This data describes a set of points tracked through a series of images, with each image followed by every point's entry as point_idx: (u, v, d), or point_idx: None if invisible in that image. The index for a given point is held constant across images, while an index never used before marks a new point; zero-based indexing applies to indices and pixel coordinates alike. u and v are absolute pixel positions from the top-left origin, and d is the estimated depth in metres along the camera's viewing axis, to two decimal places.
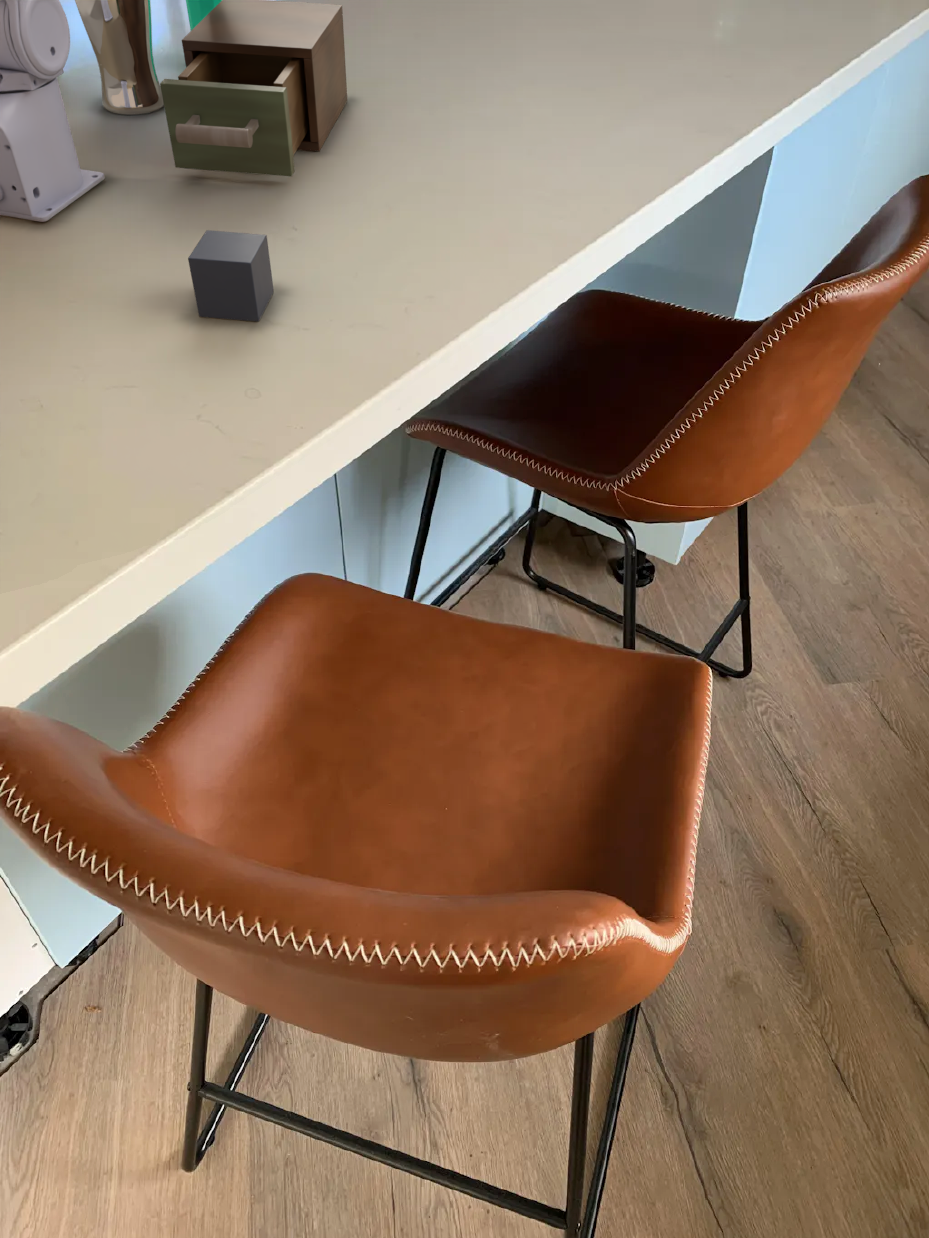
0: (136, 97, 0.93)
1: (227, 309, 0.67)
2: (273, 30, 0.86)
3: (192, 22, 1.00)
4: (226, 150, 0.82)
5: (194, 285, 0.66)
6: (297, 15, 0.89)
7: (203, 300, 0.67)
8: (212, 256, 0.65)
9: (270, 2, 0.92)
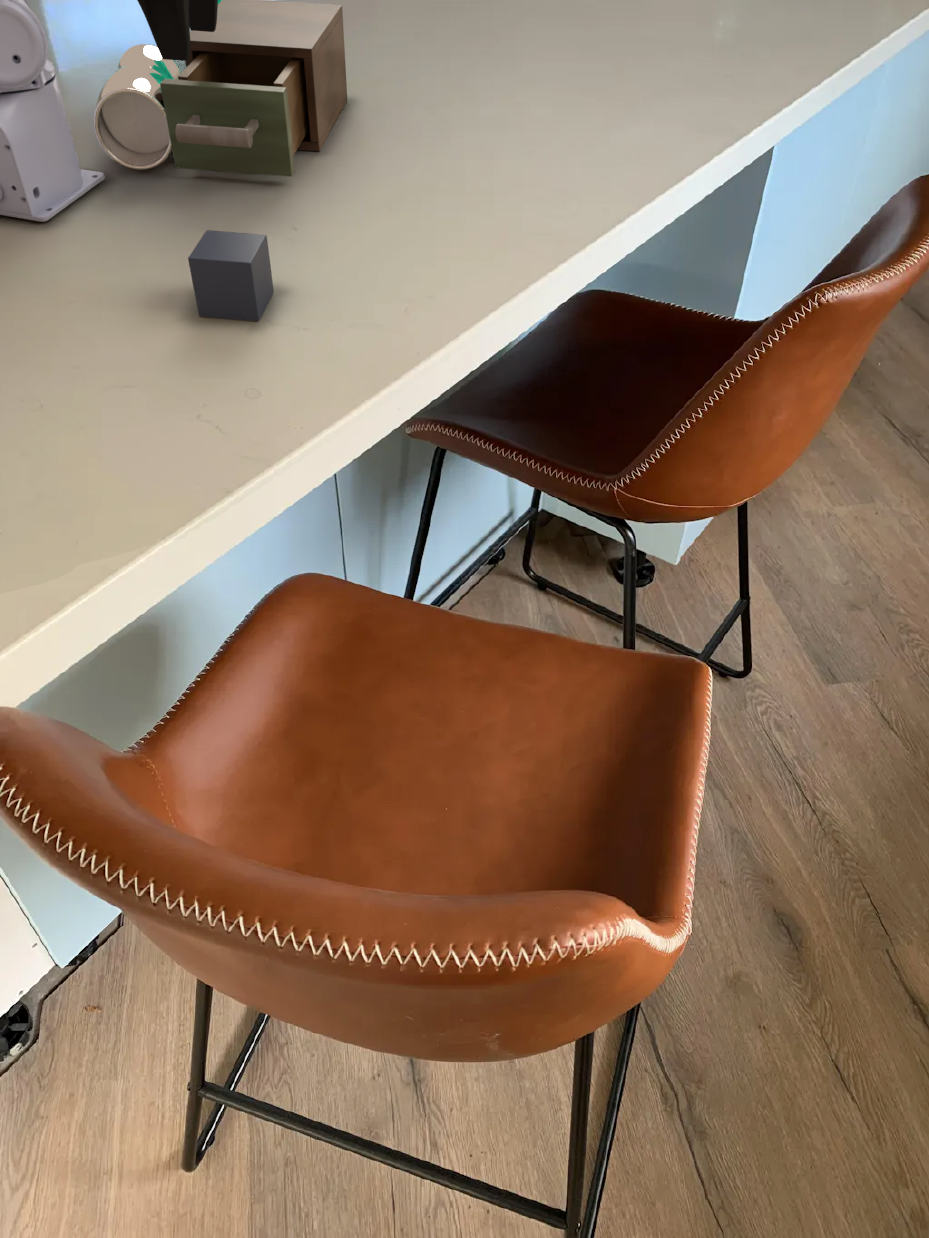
0: None
1: (227, 309, 0.67)
2: (273, 30, 0.86)
3: None
4: (226, 150, 0.82)
5: (194, 285, 0.66)
6: (297, 15, 0.89)
7: (203, 300, 0.67)
8: (212, 256, 0.65)
9: (270, 2, 0.92)
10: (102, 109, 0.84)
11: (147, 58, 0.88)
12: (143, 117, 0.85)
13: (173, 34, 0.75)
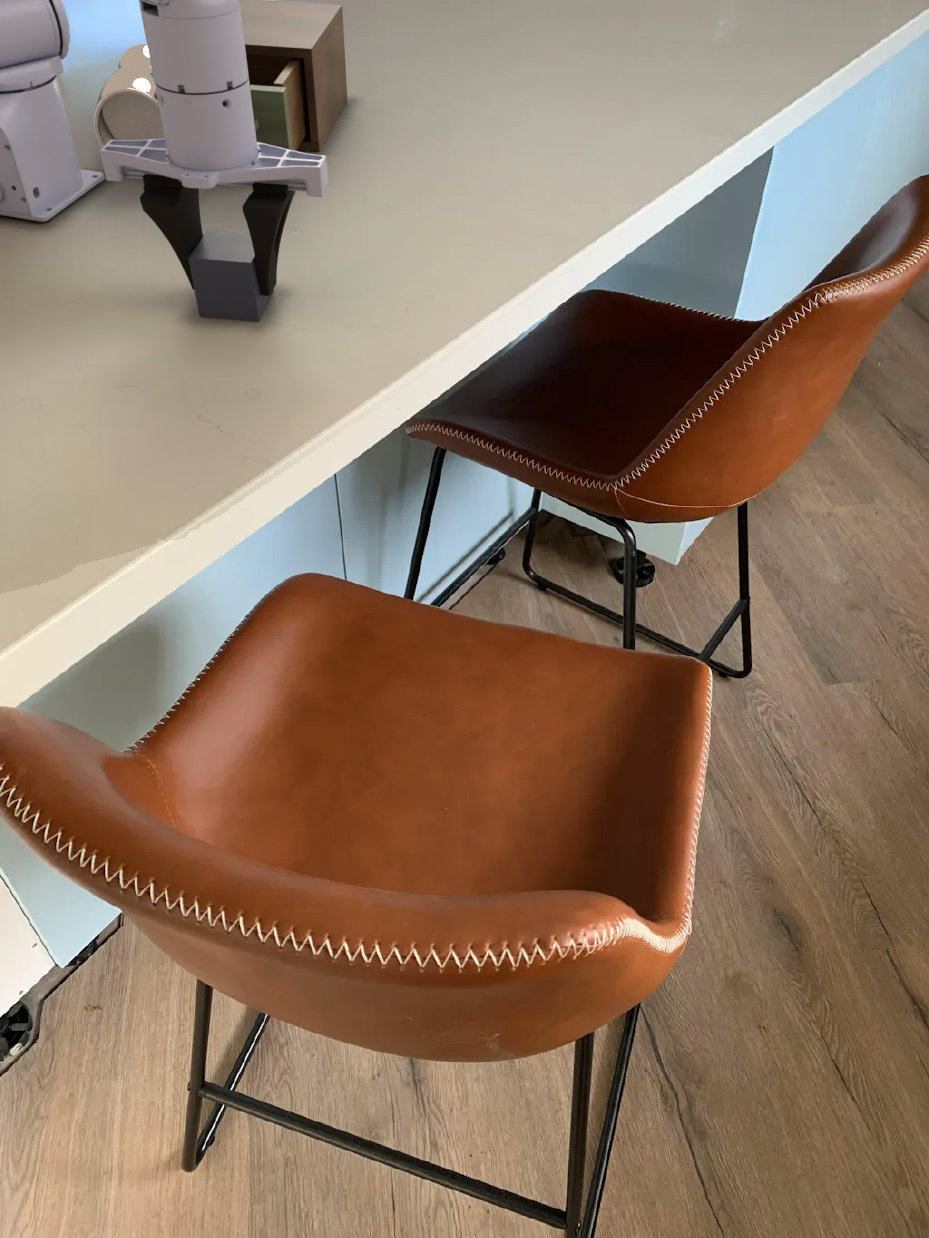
0: None
1: (227, 309, 0.67)
2: (273, 30, 0.86)
3: None
4: None
5: (194, 285, 0.66)
6: (297, 15, 0.89)
7: (203, 300, 0.67)
8: (213, 256, 0.65)
9: (270, 2, 0.92)
10: (102, 109, 0.84)
11: (147, 58, 0.88)
12: (143, 117, 0.85)
13: None
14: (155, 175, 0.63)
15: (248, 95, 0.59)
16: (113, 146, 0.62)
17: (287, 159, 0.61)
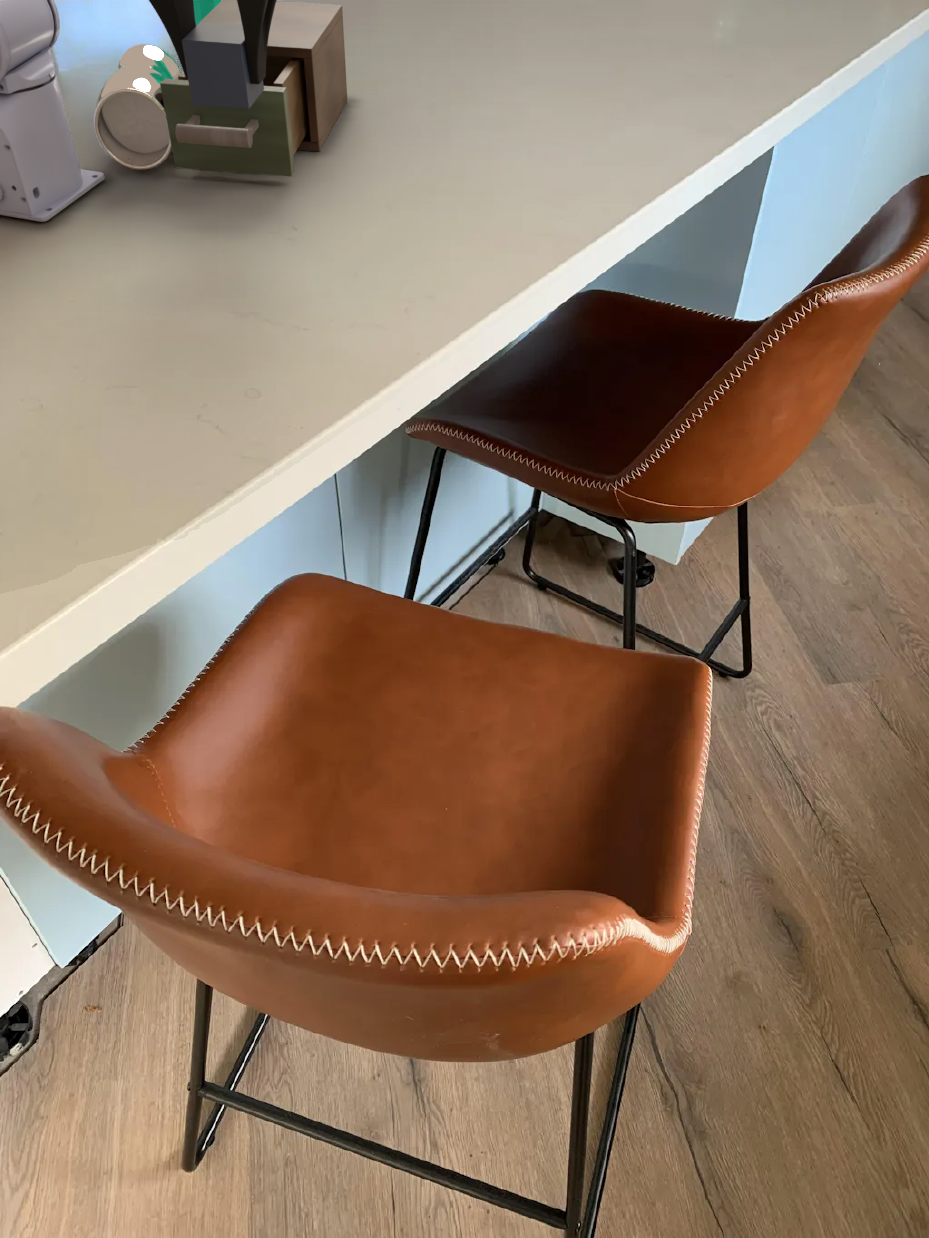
0: None
1: (219, 96, 0.71)
2: (273, 30, 0.86)
3: None
4: (226, 150, 0.82)
5: (187, 70, 0.70)
6: (297, 15, 0.89)
7: (196, 86, 0.71)
8: (205, 39, 0.69)
9: None
10: (102, 109, 0.84)
11: (147, 58, 0.88)
12: (143, 117, 0.85)
13: None
14: None
15: None
16: None
17: None
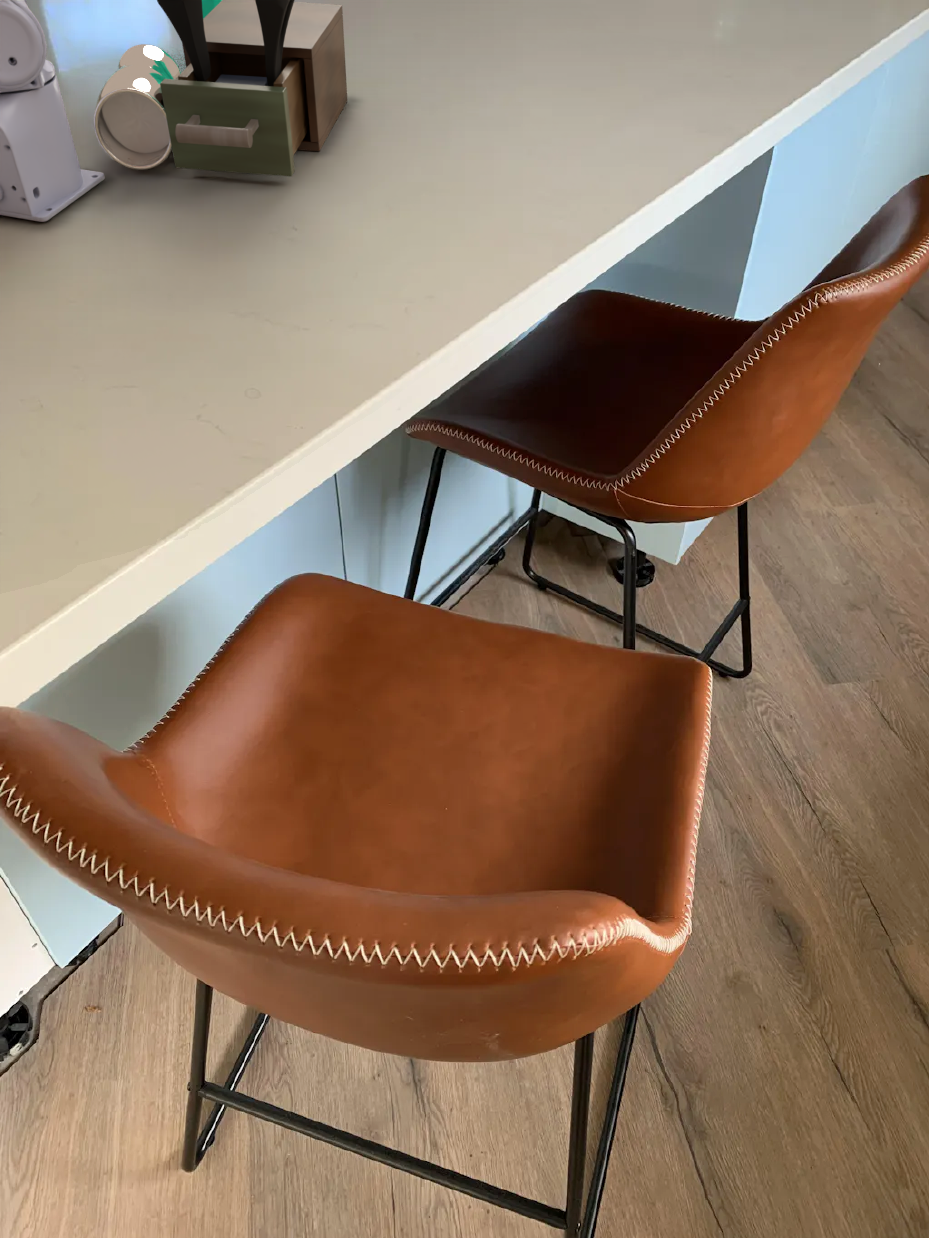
0: None
1: None
2: None
3: None
4: (226, 150, 0.82)
5: None
6: (297, 15, 0.89)
7: None
8: None
9: None
10: (102, 109, 0.84)
11: (147, 58, 0.88)
12: (143, 117, 0.85)
13: None
14: None
15: None
16: None
17: None
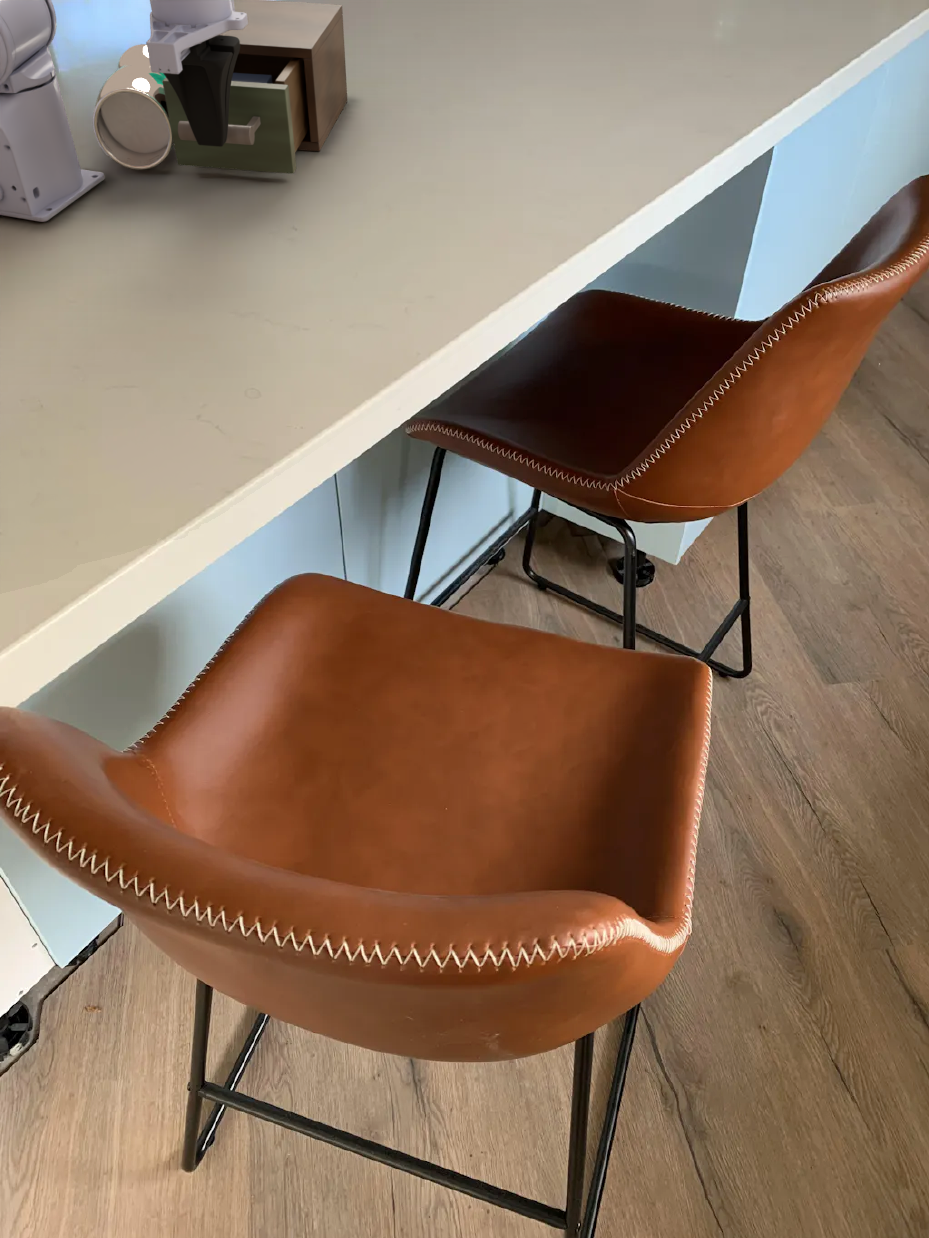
0: None
1: None
2: (273, 30, 0.86)
3: None
4: (228, 147, 0.82)
5: None
6: (297, 15, 0.89)
7: None
8: None
9: (270, 2, 0.92)
10: (101, 110, 0.84)
11: (146, 58, 0.88)
12: (142, 117, 0.85)
13: (209, 122, 0.75)
14: None
15: None
16: (163, 40, 0.66)
17: None
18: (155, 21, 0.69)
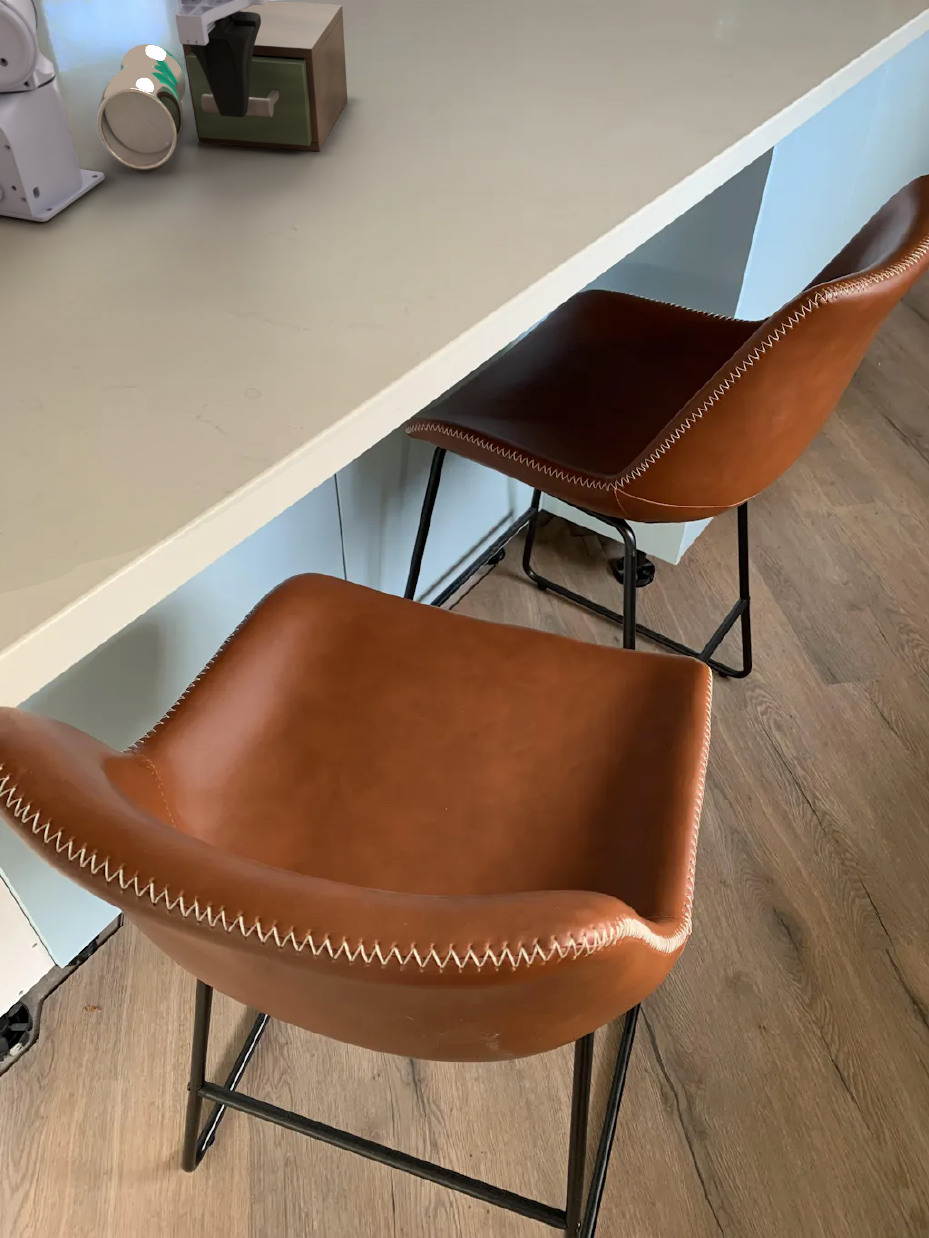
0: None
1: None
2: (273, 30, 0.86)
3: None
4: (248, 120, 0.87)
5: None
6: (297, 15, 0.89)
7: None
8: None
9: (270, 2, 0.92)
10: (105, 106, 0.84)
11: (152, 59, 0.88)
12: (145, 117, 0.85)
13: (231, 93, 0.80)
14: None
15: None
16: (192, 13, 0.71)
17: None
18: None
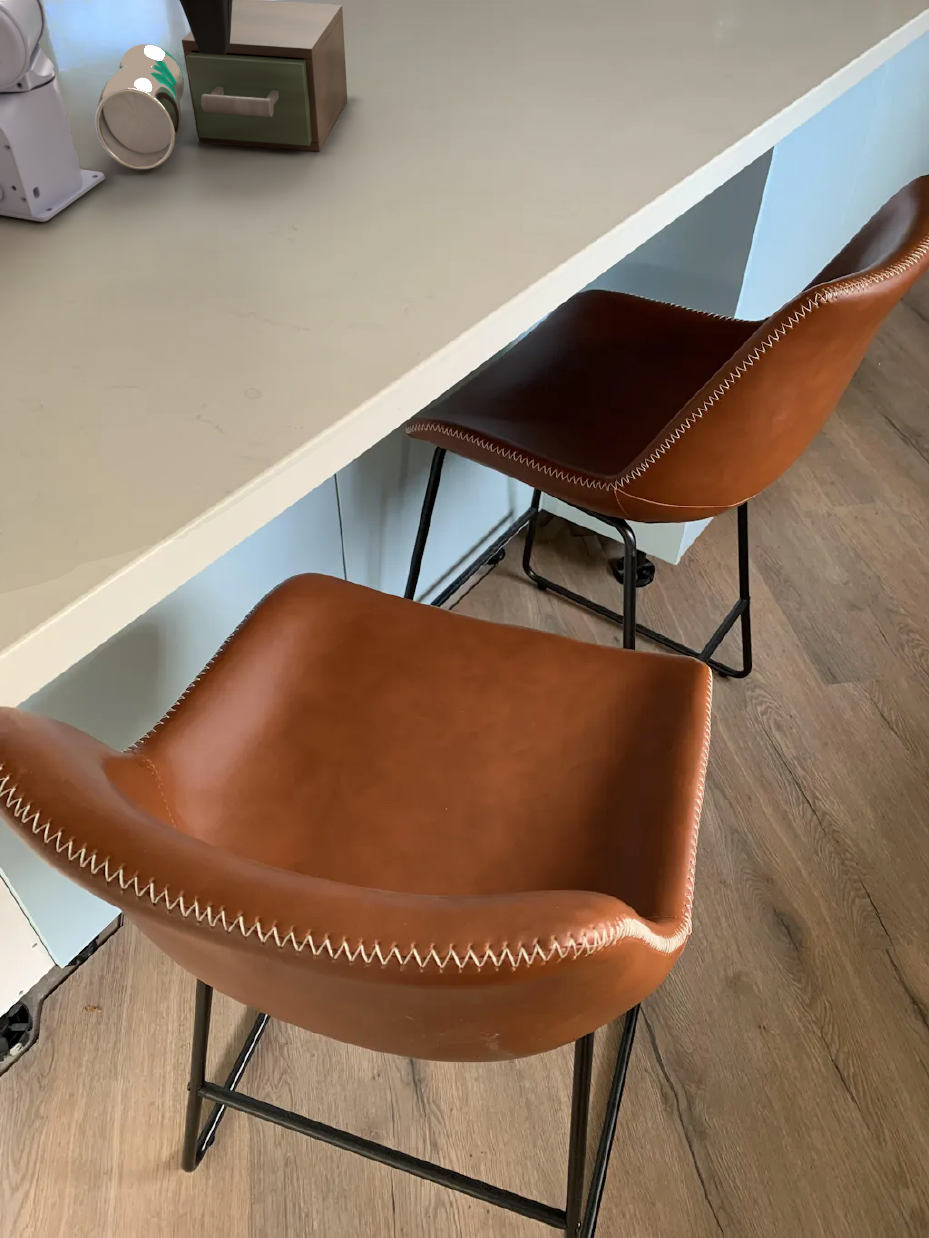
0: None
1: None
2: (273, 30, 0.86)
3: None
4: (248, 120, 0.87)
5: None
6: (297, 15, 0.89)
7: None
8: None
9: (270, 2, 0.92)
10: (103, 108, 0.84)
11: (149, 58, 0.88)
12: (144, 117, 0.85)
13: (211, 28, 0.74)
14: None
15: None
16: None
17: None
18: None
